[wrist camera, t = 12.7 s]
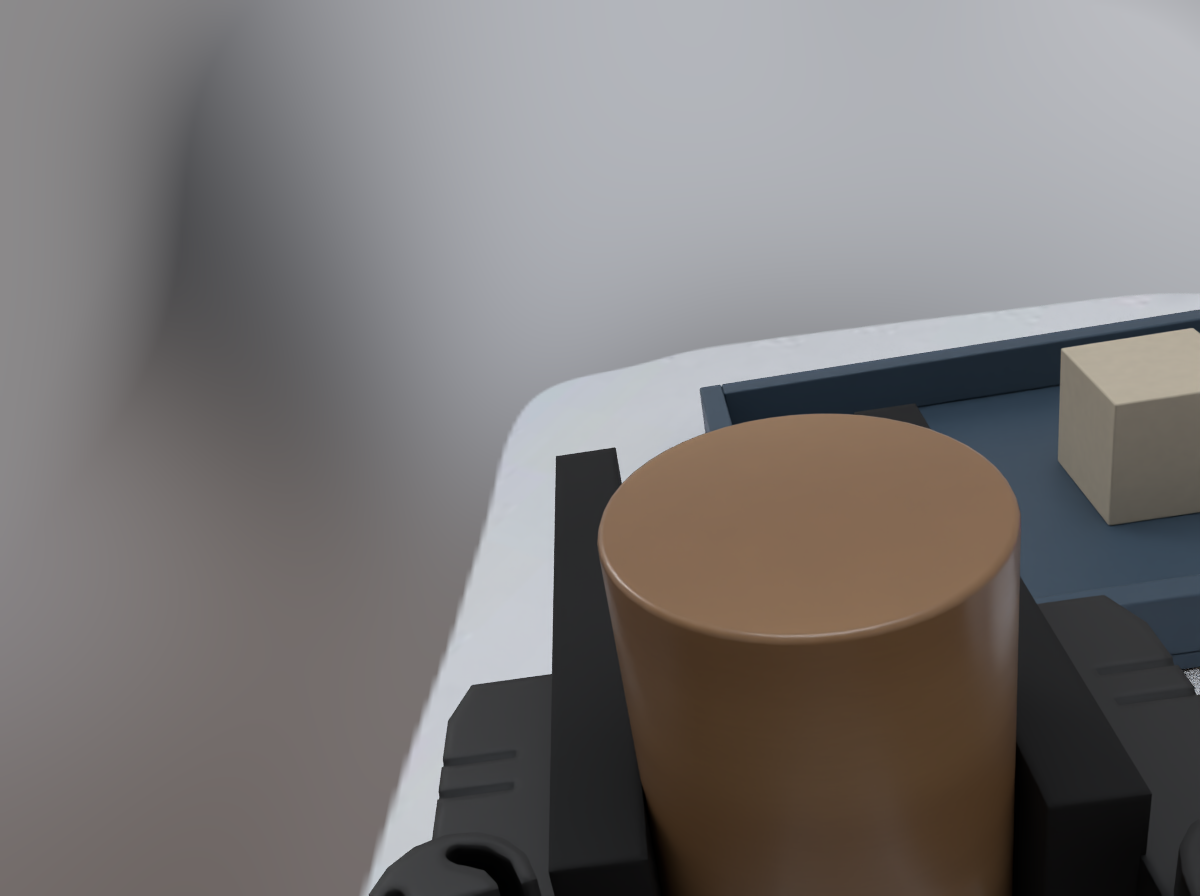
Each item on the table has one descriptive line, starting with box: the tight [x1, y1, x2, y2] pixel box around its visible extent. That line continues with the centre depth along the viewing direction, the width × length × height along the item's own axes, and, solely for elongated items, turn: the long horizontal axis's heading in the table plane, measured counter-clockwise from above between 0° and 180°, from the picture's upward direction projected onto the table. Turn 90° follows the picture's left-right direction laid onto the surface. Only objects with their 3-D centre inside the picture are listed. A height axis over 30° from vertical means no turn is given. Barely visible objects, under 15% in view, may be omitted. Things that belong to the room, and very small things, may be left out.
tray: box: [700, 310, 1200, 669], centre depth 35 cm, size 25×16×2 cm, turn 91°
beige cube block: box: [1058, 328, 1200, 525], centre depth 34 cm, size 4×4×4 cm
